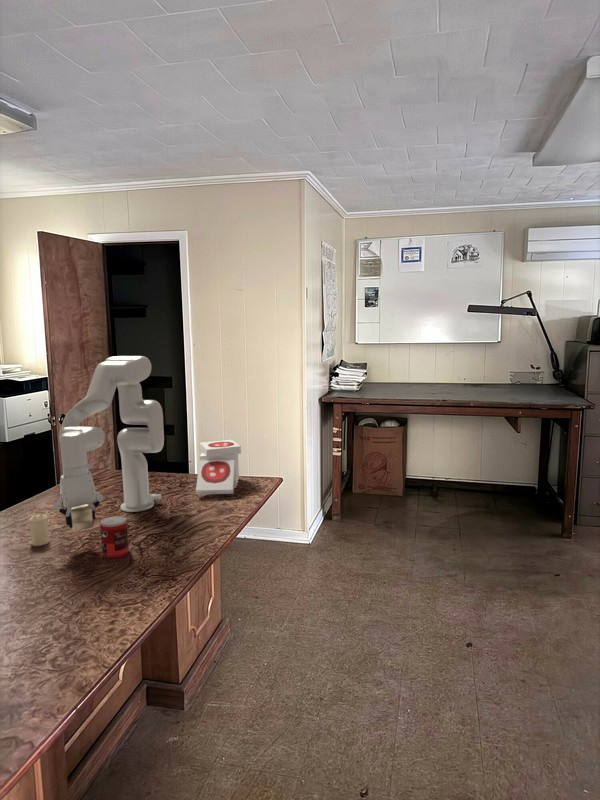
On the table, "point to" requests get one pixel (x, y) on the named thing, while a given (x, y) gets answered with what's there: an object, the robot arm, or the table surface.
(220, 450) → the pizza boxes
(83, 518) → the birch block
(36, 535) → the candle
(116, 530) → the canned food
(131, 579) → the table surface
